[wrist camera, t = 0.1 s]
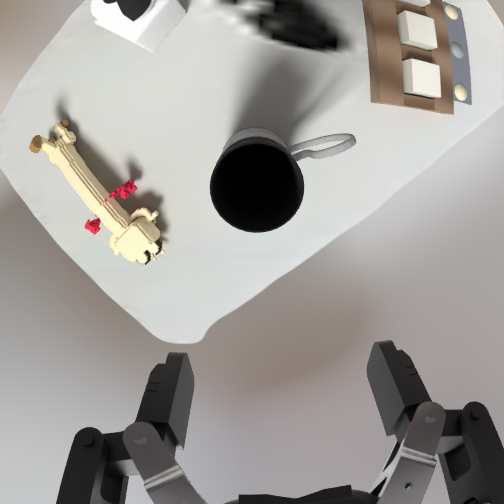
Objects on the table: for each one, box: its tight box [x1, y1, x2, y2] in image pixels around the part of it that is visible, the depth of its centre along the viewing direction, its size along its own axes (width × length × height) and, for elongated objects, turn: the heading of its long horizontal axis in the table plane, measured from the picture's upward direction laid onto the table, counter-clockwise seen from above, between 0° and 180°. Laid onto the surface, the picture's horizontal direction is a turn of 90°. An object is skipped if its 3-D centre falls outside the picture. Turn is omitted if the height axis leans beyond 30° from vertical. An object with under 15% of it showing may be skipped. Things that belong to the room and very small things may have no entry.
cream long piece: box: [29, 120, 165, 265], centre depth 34 cm, size 10×9×25 cm
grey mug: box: [210, 128, 356, 233], centre depth 29 cm, size 9×14×15 cm, turn 116°
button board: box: [362, 0, 454, 115], centre depth 26 cm, size 22×12×3 cm, turn 3°
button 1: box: [402, 59, 441, 97], centre depth 27 cm, size 4×4×3 cm
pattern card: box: [442, 2, 472, 105], centre depth 27 cm, size 17×5×1 cm, turn 3°
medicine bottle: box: [91, 0, 186, 52], centre depth 22 cm, size 7×7×12 cm
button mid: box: [397, 10, 437, 50], centre depth 24 cm, size 4×4×3 cm
